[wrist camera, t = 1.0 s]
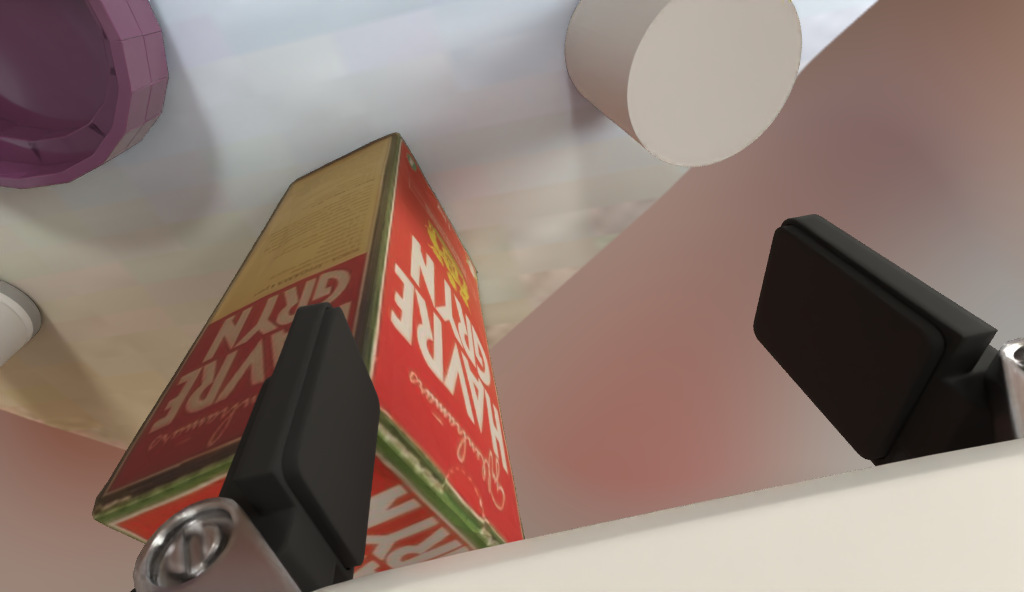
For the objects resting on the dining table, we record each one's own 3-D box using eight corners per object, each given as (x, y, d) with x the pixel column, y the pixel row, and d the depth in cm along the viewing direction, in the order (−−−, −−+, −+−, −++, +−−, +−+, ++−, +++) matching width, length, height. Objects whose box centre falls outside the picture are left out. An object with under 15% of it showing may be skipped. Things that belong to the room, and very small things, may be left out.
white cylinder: (680, 97, 34) (782, 150, 24) (569, 118, 34) (626, 180, 24) (689, -41, 29) (820, -45, 19) (560, -19, 29) (627, -11, 19)
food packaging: (483, 273, 40) (542, 593, 20) (384, 317, 41) (342, 665, 21) (400, 126, 32) (356, 397, 12) (281, 184, 33) (53, 526, 13)
